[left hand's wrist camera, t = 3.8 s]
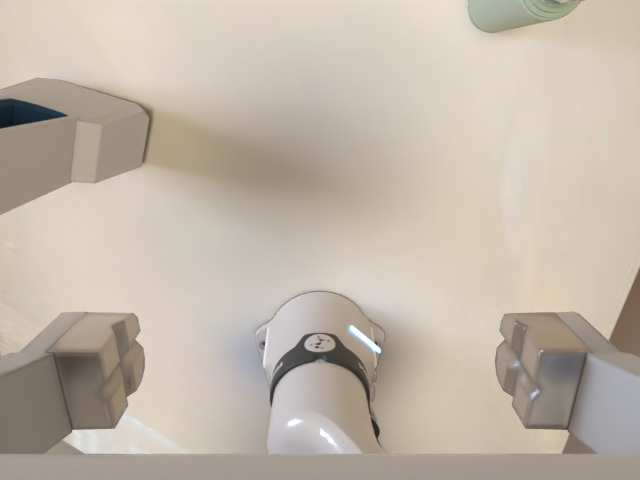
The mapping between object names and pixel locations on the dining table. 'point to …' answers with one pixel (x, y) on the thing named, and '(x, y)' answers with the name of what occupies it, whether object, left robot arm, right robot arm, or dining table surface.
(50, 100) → the electronic device
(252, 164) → the dining table surface
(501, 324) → the left robot arm
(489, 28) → the bottle
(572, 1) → the cap
